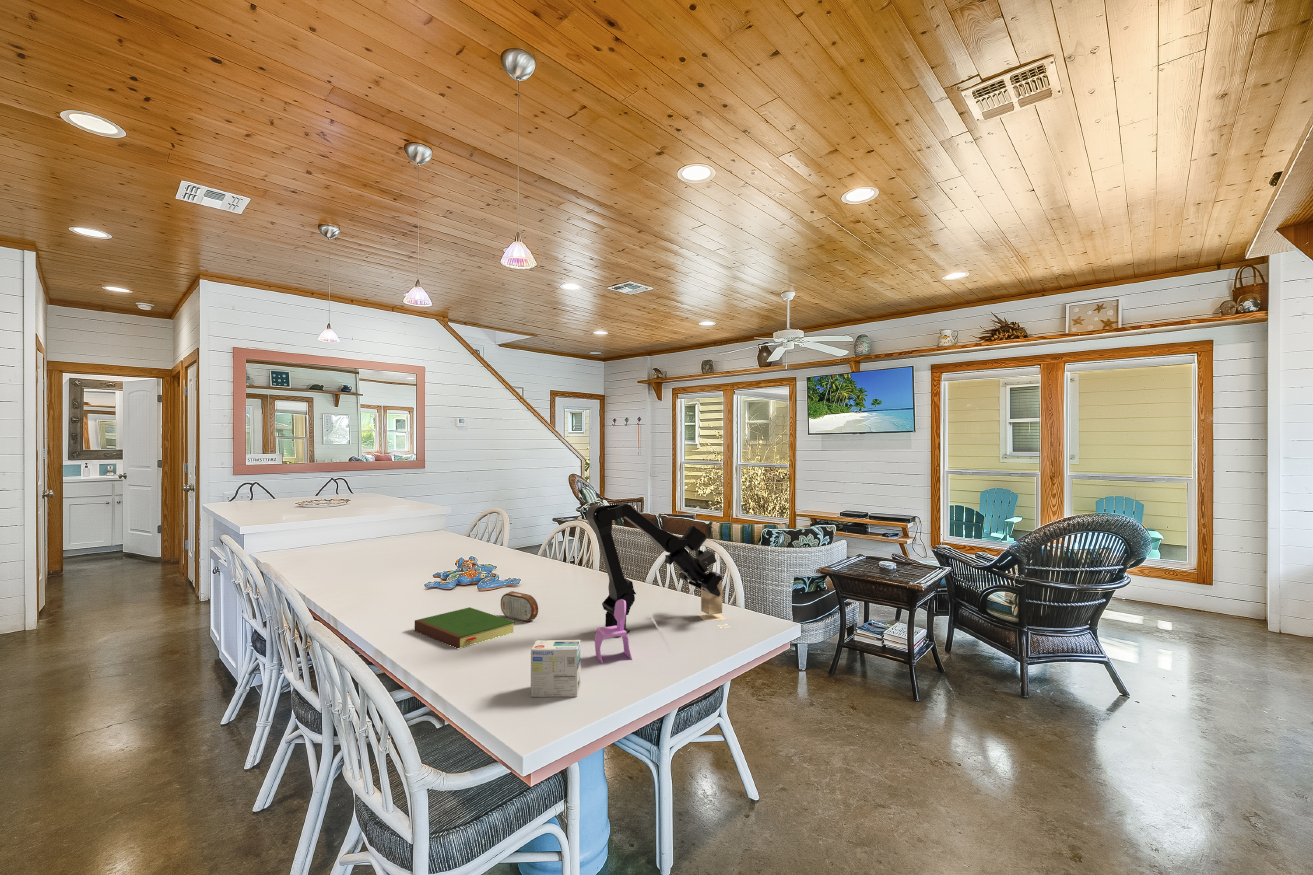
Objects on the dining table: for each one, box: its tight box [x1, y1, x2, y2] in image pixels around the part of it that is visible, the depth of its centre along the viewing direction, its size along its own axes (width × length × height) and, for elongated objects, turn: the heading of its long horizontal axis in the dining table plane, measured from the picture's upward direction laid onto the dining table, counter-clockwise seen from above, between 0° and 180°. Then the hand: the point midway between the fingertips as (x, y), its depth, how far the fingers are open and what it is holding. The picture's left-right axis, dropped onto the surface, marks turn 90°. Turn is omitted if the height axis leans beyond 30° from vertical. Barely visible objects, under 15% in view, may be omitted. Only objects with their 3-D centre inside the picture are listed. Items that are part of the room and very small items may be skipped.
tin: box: [500, 590, 539, 623], centre depth 184 cm, size 15×3×8 cm, turn 58°
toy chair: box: [594, 599, 633, 665], centre depth 150 cm, size 8×9×15 cm
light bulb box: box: [530, 639, 581, 698], centre depth 129 cm, size 11×7×11 cm, turn 92°
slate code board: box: [696, 613, 731, 629], centre depth 180 cm, size 24×14×1 cm, turn 15°
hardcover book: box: [414, 607, 516, 649], centre depth 170 cm, size 25×19×4 cm
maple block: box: [700, 581, 723, 615], centre depth 185 cm, size 5×5×10 cm
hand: (715, 593), depth 186 cm, fingers closed on maple block, 5 cm apart
